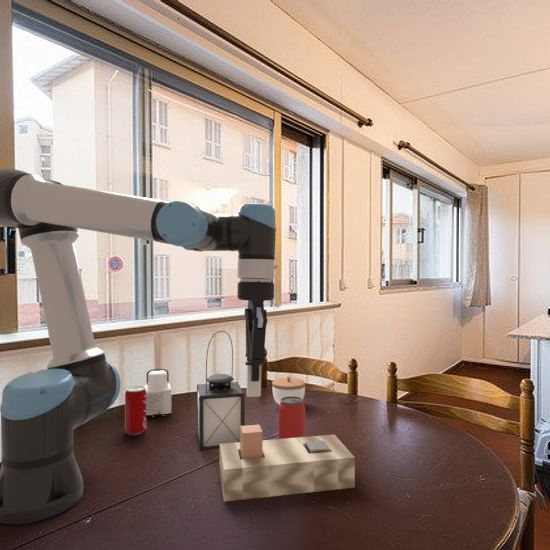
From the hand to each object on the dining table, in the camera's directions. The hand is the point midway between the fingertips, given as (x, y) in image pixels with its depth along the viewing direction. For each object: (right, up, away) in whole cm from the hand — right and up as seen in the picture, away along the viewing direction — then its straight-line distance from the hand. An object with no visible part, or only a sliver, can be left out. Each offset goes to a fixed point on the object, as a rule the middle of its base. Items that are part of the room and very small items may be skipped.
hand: (253, 395), depth 85 cm
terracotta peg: (0, -13, 0) cm, 13 cm away
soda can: (-33, -18, +27) cm, 46 cm away
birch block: (+6, -18, +1) cm, 19 cm away
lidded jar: (+9, -18, +49) cm, 53 cm away
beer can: (+9, -18, +16) cm, 26 cm away
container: (-32, -18, +43) cm, 56 cm away
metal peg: (+13, -17, +2) cm, 22 cm away
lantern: (-10, -18, +21) cm, 30 cm away
